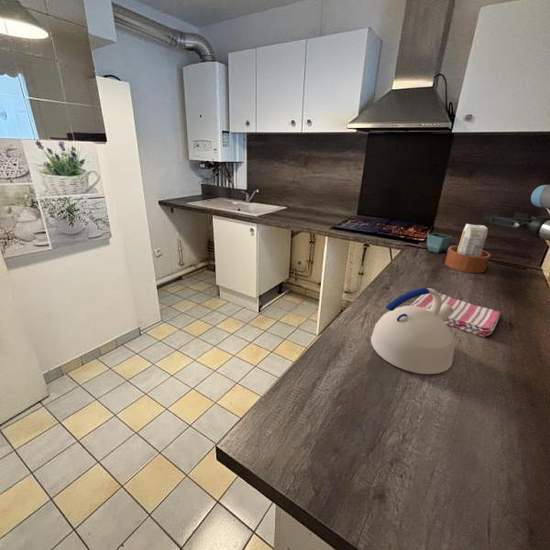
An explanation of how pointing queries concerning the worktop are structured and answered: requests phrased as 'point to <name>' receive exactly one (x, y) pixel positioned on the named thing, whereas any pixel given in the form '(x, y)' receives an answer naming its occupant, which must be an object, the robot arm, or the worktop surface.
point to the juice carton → (472, 240)
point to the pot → (466, 261)
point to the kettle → (415, 335)
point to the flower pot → (437, 242)
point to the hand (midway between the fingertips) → (499, 215)
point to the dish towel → (464, 314)
